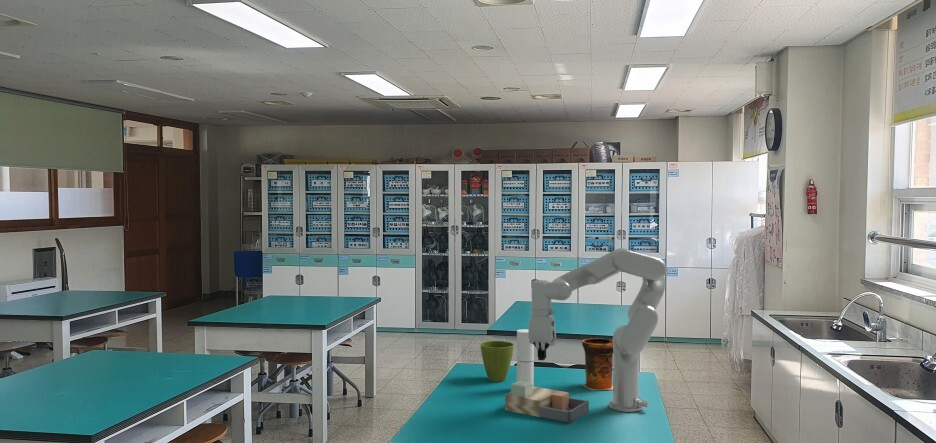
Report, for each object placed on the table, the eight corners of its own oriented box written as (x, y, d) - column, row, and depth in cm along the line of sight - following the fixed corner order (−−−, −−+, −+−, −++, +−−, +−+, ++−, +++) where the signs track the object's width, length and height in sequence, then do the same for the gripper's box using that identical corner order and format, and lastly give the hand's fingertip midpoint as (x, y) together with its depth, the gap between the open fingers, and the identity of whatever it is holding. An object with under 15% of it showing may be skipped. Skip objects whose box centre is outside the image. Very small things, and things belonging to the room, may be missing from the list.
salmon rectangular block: (559, 406, 258) (568, 408, 256) (552, 410, 253) (561, 412, 251) (559, 390, 258) (568, 392, 255) (552, 394, 253) (562, 396, 250)
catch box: (588, 411, 253) (588, 400, 253) (569, 423, 239) (569, 412, 239) (559, 405, 260) (559, 395, 260) (539, 417, 245) (539, 406, 245)
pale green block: (532, 393, 255) (532, 383, 255) (525, 397, 250) (525, 386, 250) (518, 391, 259) (518, 380, 259) (511, 394, 254) (511, 384, 254)
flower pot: (475, 376, 303) (475, 341, 302) (506, 374, 307) (506, 339, 307) (486, 385, 289) (486, 348, 288) (518, 382, 293) (518, 346, 293)
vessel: (590, 392, 278) (591, 344, 278) (576, 384, 292) (576, 338, 292) (621, 390, 282) (622, 342, 282) (606, 382, 296) (606, 337, 296)
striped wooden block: (559, 406, 259) (559, 390, 259) (540, 417, 246) (540, 401, 246) (525, 399, 267) (525, 385, 267) (505, 410, 254) (505, 394, 254)
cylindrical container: (527, 393, 277) (528, 333, 276) (513, 390, 282) (513, 331, 281) (536, 389, 283) (537, 330, 282) (522, 386, 287) (522, 328, 287)
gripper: (563, 312, 257) (563, 360, 258) (528, 309, 265) (529, 355, 266) (554, 315, 251) (555, 364, 251) (519, 312, 259) (520, 359, 260)
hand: (541, 359), depth 259 cm, fingers closed
